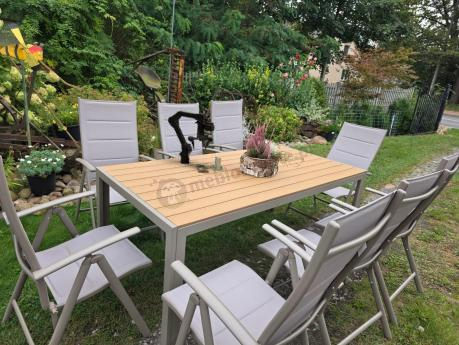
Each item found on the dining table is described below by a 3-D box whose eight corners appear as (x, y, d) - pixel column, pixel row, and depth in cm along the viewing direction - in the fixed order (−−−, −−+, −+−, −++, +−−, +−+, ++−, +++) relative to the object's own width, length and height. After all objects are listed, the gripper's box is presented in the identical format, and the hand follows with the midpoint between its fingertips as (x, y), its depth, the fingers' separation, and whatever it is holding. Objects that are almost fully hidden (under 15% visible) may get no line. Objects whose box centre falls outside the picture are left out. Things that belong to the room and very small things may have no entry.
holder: (214, 170, 227) (214, 167, 226) (211, 166, 235) (211, 163, 234) (223, 170, 229) (224, 167, 229) (220, 166, 238) (220, 163, 237)
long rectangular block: (216, 169, 229) (217, 157, 226) (214, 166, 234) (215, 155, 232) (220, 169, 230) (221, 157, 227) (218, 166, 235) (218, 155, 233)
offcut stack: (197, 172, 219) (197, 169, 218) (198, 171, 222) (198, 168, 221) (208, 173, 219) (208, 170, 219) (208, 172, 222) (208, 169, 222)
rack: (198, 171, 222) (199, 169, 222) (195, 166, 232) (195, 164, 231) (206, 170, 224) (206, 169, 224) (203, 166, 234) (203, 164, 233)
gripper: (190, 131, 217) (189, 152, 222) (215, 132, 223) (213, 152, 228) (188, 128, 227) (187, 148, 232) (211, 129, 233) (210, 148, 238)
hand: (199, 149), depth 232 cm, fingers open, 9 cm apart
